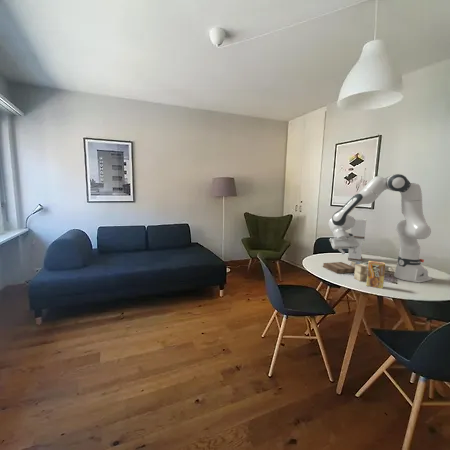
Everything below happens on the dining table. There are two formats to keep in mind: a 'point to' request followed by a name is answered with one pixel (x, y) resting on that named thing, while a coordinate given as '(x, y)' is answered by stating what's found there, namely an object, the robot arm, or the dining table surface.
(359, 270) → the birch block
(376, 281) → the candy box
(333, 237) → the robot arm
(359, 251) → the display case
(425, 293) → the dining table surface
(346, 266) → the walnut plinth
